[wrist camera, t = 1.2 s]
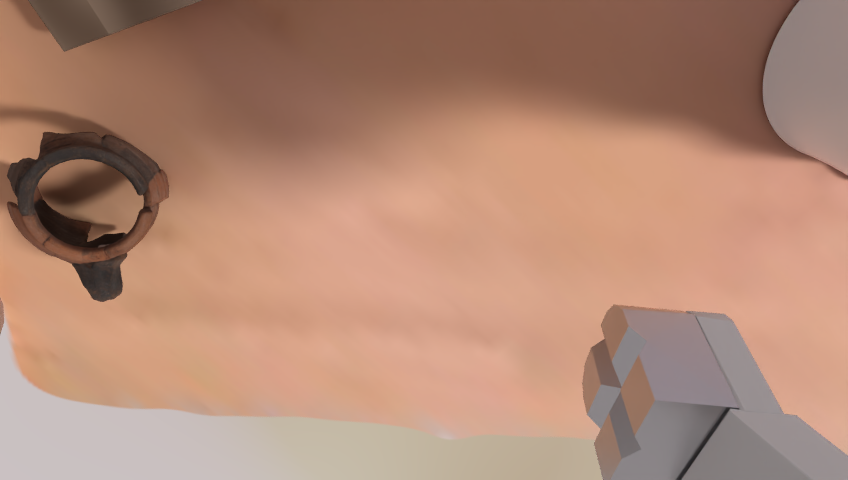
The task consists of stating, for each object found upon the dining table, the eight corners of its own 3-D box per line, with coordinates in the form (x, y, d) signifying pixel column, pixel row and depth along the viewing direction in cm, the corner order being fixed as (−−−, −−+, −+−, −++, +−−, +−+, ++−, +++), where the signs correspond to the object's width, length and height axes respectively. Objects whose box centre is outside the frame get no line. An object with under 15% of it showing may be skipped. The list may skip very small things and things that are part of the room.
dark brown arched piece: (-5, 131, 41) (-32, 152, 34) (145, 104, 44) (149, 118, 37) (59, 291, 46) (46, 339, 39) (190, 256, 49) (201, 294, 42)
